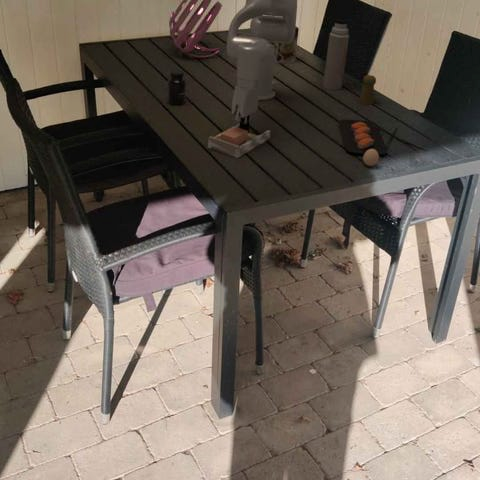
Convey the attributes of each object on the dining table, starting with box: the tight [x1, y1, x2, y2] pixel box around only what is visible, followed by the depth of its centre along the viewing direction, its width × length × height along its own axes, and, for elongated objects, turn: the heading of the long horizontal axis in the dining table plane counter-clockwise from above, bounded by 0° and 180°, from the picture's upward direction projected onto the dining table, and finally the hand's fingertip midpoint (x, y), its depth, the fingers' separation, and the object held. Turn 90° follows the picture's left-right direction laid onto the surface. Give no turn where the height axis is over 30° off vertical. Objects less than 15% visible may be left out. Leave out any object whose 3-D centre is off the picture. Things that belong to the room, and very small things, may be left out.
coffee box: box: [273, 26, 299, 64], centre depth 306 cm, size 9×6×16 cm
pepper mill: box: [357, 74, 377, 106], centre depth 268 cm, size 6×6×11 cm
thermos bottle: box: [322, 18, 350, 91], centre depth 277 cm, size 8×8×28 cm
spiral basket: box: [168, 0, 223, 59], centre depth 305 cm, size 28×28×27 cm
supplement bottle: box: [167, 70, 187, 106], centre depth 256 cm, size 7×7×12 cm
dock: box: [207, 123, 271, 159], centre depth 230 cm, size 20×12×5 cm, turn 146°
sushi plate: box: [338, 119, 428, 156], centre depth 239 cm, size 29×30×4 cm
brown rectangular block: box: [221, 126, 248, 145], centre depth 226 cm, size 8×6×4 cm
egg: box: [363, 149, 380, 167], centre depth 220 cm, size 5×5×6 cm
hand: (243, 132), depth 231 cm, fingers closed
